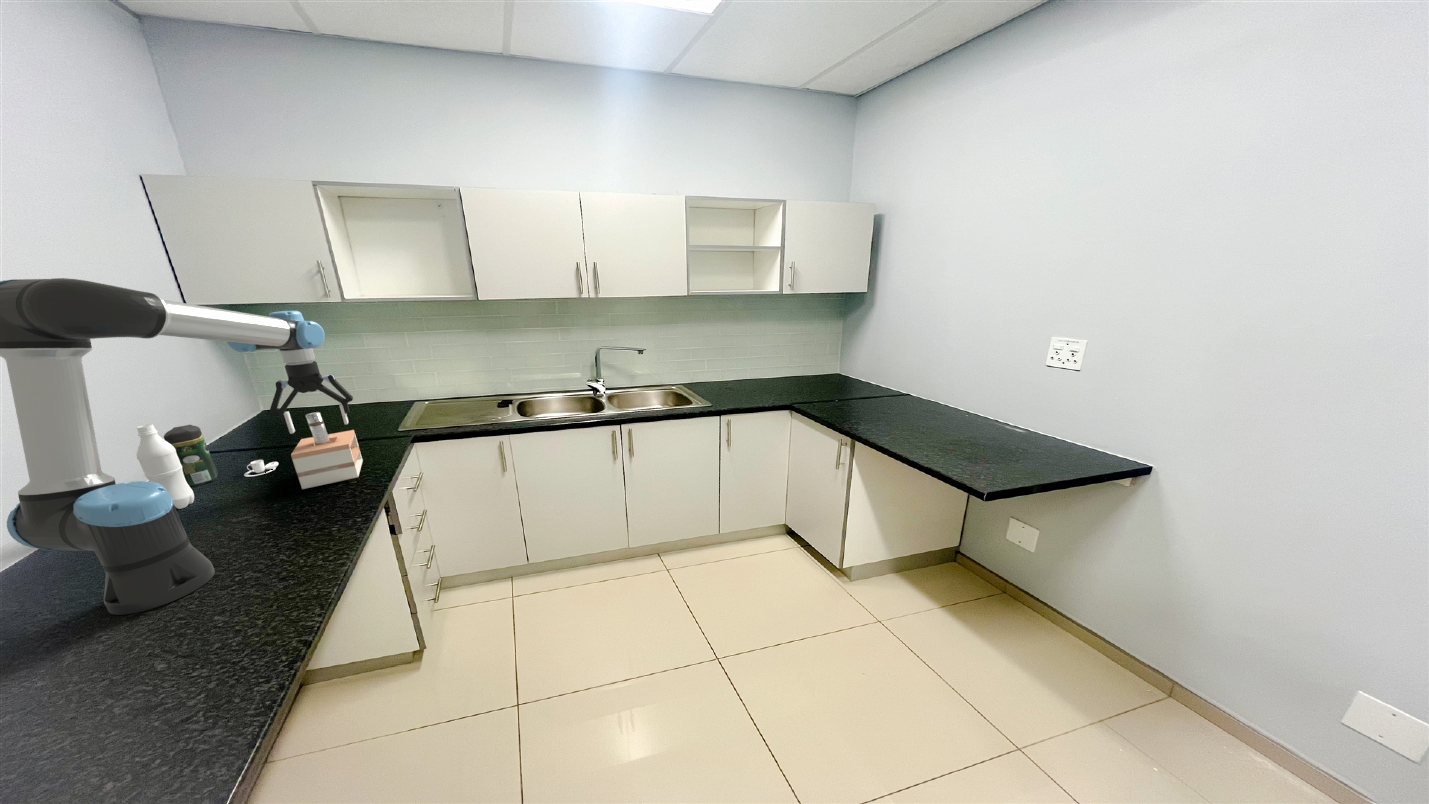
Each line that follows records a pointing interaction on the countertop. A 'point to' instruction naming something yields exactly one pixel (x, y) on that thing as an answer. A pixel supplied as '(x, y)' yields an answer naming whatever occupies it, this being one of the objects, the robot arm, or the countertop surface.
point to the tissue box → (327, 460)
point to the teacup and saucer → (260, 467)
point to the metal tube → (317, 428)
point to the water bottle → (163, 465)
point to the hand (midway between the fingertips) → (320, 427)
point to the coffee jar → (192, 454)
